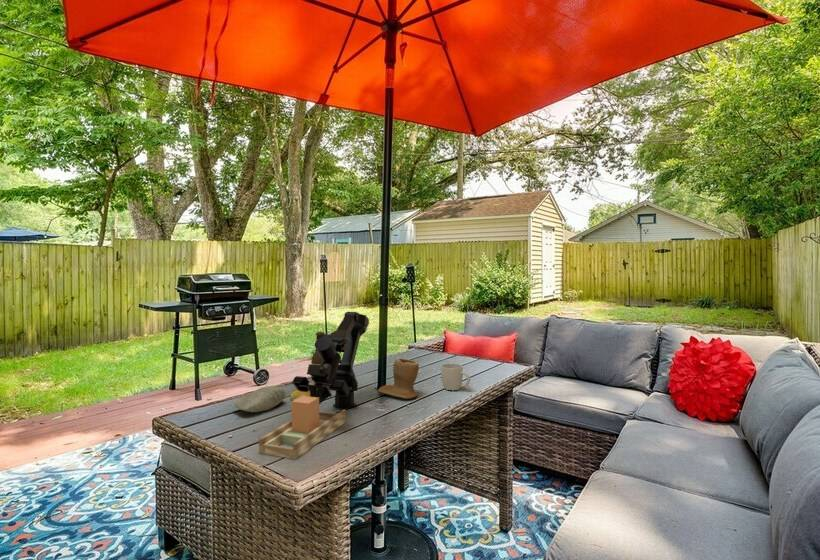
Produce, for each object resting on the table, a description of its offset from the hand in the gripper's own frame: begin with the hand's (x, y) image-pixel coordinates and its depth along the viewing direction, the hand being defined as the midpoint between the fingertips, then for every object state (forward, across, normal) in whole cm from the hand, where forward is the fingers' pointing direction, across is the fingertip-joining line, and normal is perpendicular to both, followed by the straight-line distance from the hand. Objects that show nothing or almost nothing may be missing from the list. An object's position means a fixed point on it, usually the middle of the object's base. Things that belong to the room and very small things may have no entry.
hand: (311, 409), depth 138 cm
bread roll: (-15, -22, +26) cm, 38 cm away
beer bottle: (-27, -23, +37) cm, 51 cm away
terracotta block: (+6, 0, +1) cm, 6 cm away
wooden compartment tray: (+7, 0, +3) cm, 8 cm away
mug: (-38, +33, +48) cm, 70 cm away
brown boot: (-27, +14, +38) cm, 48 cm away
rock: (-5, -29, +16) cm, 34 cm away
